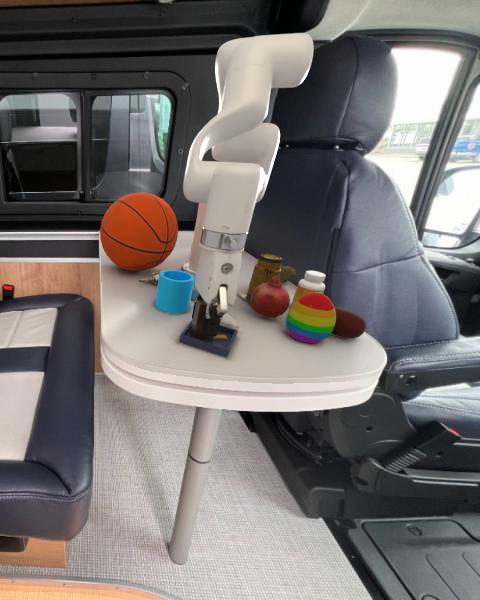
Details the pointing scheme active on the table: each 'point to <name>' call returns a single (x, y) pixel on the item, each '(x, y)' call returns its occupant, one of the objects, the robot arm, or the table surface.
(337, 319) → the potato
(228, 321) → the gaming controller
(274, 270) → the condiment
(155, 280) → the computer mouse
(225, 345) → the tray
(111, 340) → the table surface
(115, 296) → the table surface
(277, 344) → the table surface
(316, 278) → the supplement bottle
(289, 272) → the hand grenade
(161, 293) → the mug
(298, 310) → the decorative egg
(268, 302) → the fruit
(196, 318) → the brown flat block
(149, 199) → the basket ball
